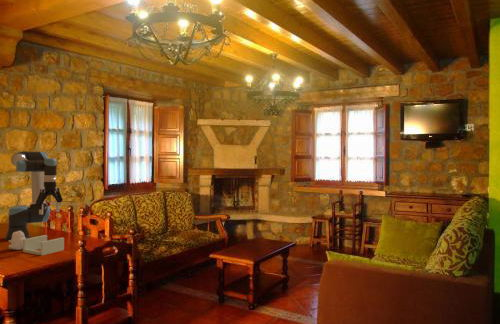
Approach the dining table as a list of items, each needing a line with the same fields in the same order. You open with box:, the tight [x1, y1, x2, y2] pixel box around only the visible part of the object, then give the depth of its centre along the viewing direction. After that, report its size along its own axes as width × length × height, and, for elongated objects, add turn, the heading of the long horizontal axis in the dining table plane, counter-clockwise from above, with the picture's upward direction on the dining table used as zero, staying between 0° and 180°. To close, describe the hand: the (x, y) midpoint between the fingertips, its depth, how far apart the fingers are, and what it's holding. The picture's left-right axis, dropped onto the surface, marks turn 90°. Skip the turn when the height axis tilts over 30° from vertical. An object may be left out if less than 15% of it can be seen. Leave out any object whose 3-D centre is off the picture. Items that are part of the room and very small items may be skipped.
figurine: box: [7, 230, 26, 251], centre depth 262 cm, size 10×10×12 cm
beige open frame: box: [22, 234, 65, 256], centre depth 260 cm, size 17×16×8 cm
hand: (49, 213), depth 274 cm, fingers open, 13 cm apart
